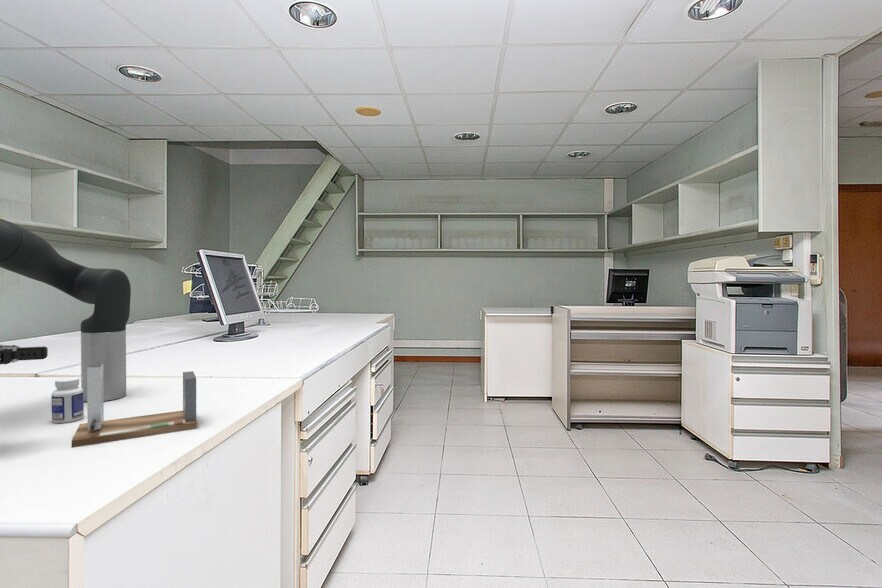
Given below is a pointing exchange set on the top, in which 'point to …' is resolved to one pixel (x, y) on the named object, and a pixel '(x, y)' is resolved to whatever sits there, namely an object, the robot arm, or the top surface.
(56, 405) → the pill bottle
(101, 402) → the brushed steel sheet
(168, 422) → the brown wooden base board
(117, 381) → the robot arm
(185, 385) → the grey wood-grain slab
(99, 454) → the top surface
